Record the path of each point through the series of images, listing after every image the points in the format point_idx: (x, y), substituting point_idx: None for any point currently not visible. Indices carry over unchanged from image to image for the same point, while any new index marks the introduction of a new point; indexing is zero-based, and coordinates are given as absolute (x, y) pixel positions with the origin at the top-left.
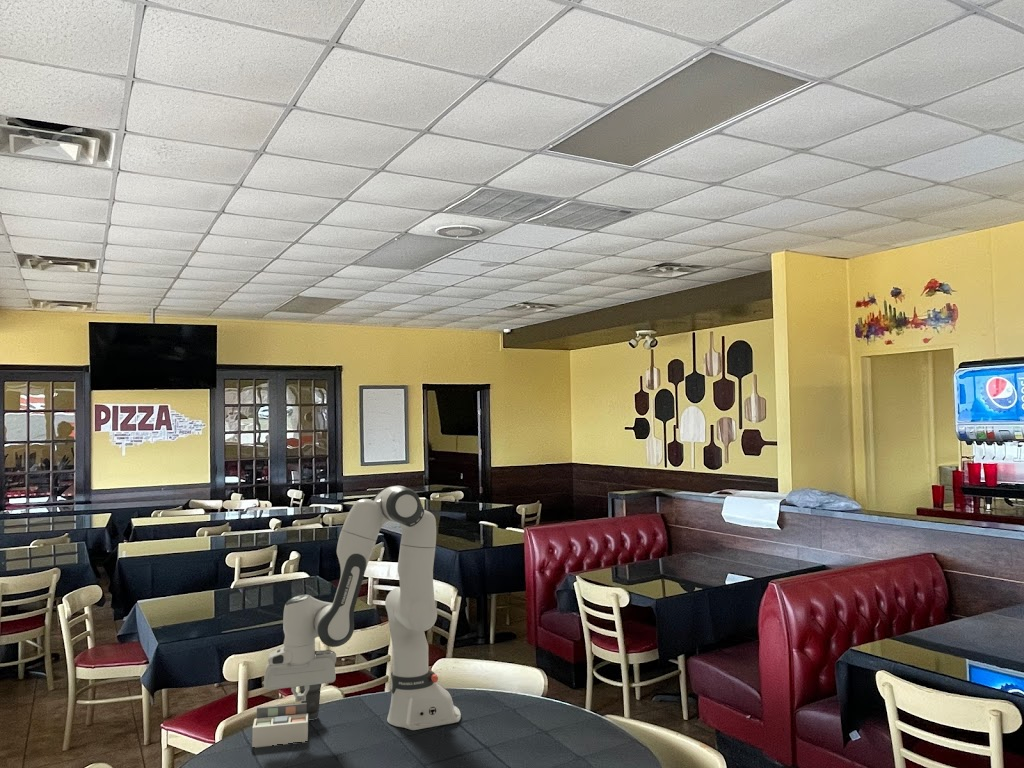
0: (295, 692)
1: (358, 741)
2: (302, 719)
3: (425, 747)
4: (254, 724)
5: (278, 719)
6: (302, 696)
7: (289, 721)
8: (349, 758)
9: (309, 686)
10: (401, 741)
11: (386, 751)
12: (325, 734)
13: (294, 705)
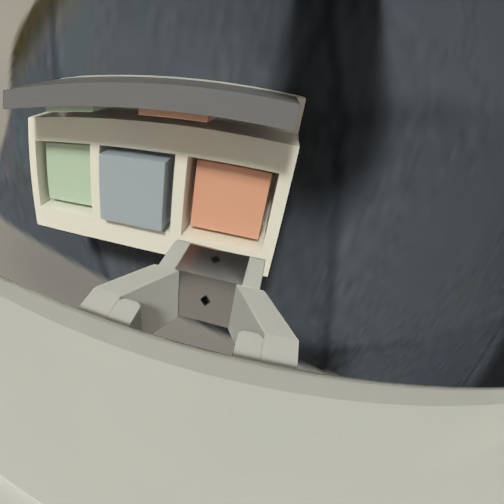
0: (147, 332)
1: (426, 301)
2: (255, 189)
3: (493, 374)
4: (36, 191)
5: (118, 200)
6: (221, 320)
7: (176, 223)
8: (350, 376)
9: (295, 351)
10: (492, 339)
11: (436, 371)
12: (362, 188)
13: (199, 114)
